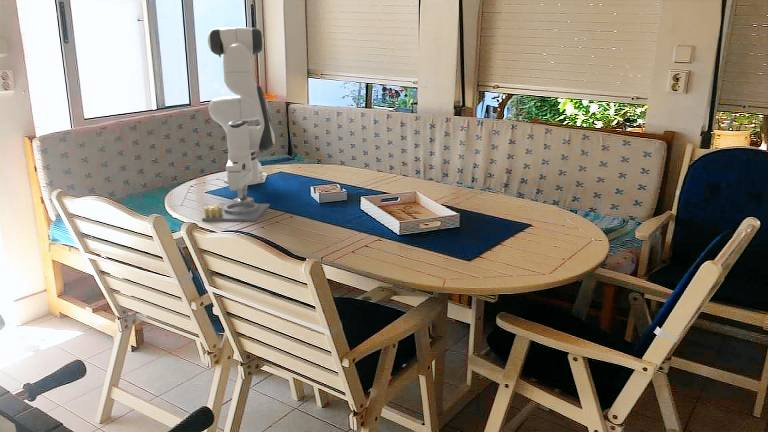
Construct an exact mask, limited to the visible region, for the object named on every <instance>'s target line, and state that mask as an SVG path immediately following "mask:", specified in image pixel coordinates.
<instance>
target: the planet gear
mask: <svg viewBox="0 0 768 432" xmlns="http://www.w3.org/2000/svg"><path fill="white" fill-rule="evenodd" d="M242 192H243V195H244V196H243V197H242V198H238V196H237V197H236V198H233V199H232V203H234V202H254V203H255V201H254V200H255V199H254V197H252V196H251V197H250V196H247V194H248V193H247V194H246V189H242Z"/></svg>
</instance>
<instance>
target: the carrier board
mask: <svg viewBox="0 0 768 432" xmlns="http://www.w3.org/2000/svg"><path fill="white" fill-rule="evenodd" d="M270 206H271V205H270V203H257V202H255V201H254V202H234V203H233V202H220V203H218V204H213V205H210V204H209V205H207V206H204V207H203V211H204V216H203V217H202V218H201V221H203V222H204V221H205V222H208V221H209V222H251V223H255V222H256V221H258V219H259V218H260V217H262V215H263V214H264V213H265V212H266V211H267V210H268V209H269V208H270Z"/></svg>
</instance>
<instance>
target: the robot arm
mask: <svg viewBox="0 0 768 432" xmlns="http://www.w3.org/2000/svg"><path fill="white" fill-rule="evenodd" d="M263 35H264V34H263V33H262V31H261V30H260V29H259V28H256V27H244V26H233V27H231V26H229V27H214V28H211V30H210V31H209V33H208V36H207V44H208V47H209V50H210V51H211V52H212V53H213V54H214V55H217V56H219V58H222V55H223V58H222V59H223V61H222V65H223V68H222V69H223V81H224V83H225V85H226V87H227V89H228V90H229V91H230V92H231V93H233V94H234V95H230V96H225V95H224V96H220V97H215V98H212V99H211V100H210V101H209V104H208V107H207V108H208V109H207V110H208V114H209V116H210V118H211V119H212V120H213V121H215V123H218V124H219V125H220V126H221V127H222V129H223V130H224V131H225V134H226V135H225V141H226V146H227V149H228V153H227V157H228V160H227V163H226V165H225V171H226V178H225V179H223V182H224V183H226V184H227V185H228V188H229V190H230V192H236V193H237V197H238V198H242V197H243V196H244V195H243V192H242V189H246V194H248V186H252V185H257V184H262V183H265V182H266V179H267V176H268V174H267V172H263V170H262V164H261V162H260V161H259V160H258V159H257V151H262V152H263V151H264V152H268V151H269V150H271V149H272V148H273V147H274V146H275V144H276V143H275V142H276V137H275V136H276V135H275V133H274V130H273V126H272V123H271V119H270V114H269V104H268V102H267V101H268V100H266V97H265V93H264V90H263V88H262V86H260V85H259V84H257V82H256V81H255V78H254V72H253V61H252V57H251V55H252V56H255V55H256V54H260V53H261V52H262V51H263V49H264V45H265V39H264V36H263ZM256 120H258V121H259V125H253V126H252V125H250V126H249V125H248V123H247V122H246V121H256Z"/></svg>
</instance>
